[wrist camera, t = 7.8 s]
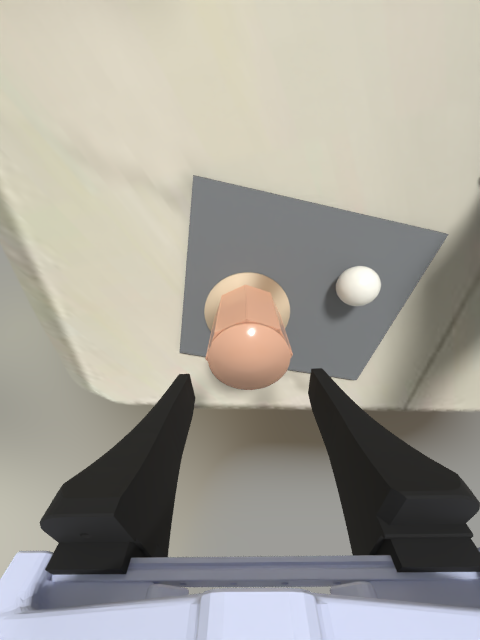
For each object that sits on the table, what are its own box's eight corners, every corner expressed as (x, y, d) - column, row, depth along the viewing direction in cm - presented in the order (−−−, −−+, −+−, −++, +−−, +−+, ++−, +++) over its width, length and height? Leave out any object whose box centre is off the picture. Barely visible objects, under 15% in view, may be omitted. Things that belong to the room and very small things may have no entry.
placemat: (444, 233, 18) (448, 234, 17) (354, 377, 26) (356, 380, 25) (194, 175, 16) (193, 175, 16) (180, 350, 24) (179, 352, 23)
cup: (287, 297, 20) (305, 339, 14) (263, 346, 22) (271, 397, 17) (227, 278, 19) (220, 314, 13) (210, 330, 22) (198, 379, 16)
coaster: (301, 281, 19) (302, 282, 19) (276, 352, 23) (276, 354, 23) (210, 264, 19) (210, 265, 18) (200, 340, 23) (200, 342, 22)
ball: (375, 265, 19) (398, 278, 16) (357, 299, 20) (376, 316, 17) (339, 257, 18) (356, 269, 16) (324, 293, 20) (338, 309, 17)
